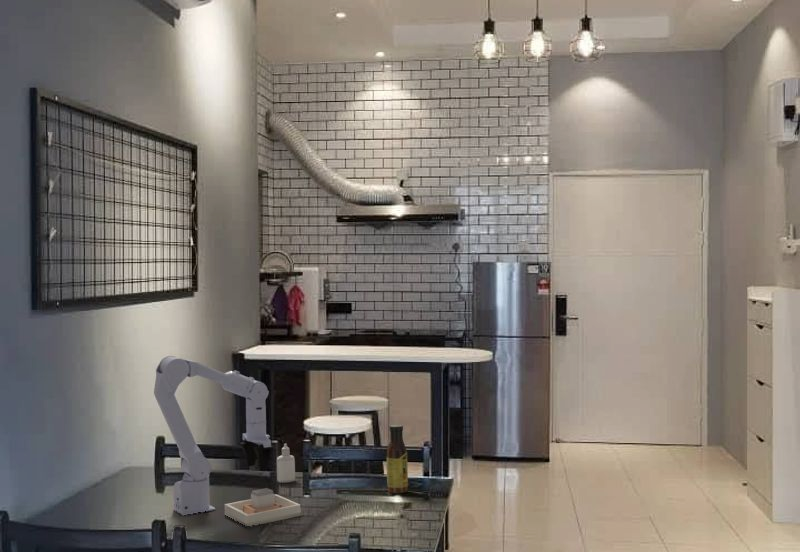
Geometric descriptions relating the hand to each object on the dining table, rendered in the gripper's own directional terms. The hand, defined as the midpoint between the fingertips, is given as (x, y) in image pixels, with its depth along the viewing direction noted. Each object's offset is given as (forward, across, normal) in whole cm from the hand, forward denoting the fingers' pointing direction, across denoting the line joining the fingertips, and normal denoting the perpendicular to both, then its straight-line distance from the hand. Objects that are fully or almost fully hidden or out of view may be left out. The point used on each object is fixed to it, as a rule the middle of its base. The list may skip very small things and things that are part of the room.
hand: (257, 468), depth 245 cm
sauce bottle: (+10, -19, -37) cm, 43 cm away
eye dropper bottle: (+10, +14, -17) cm, 24 cm away
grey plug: (+9, -15, +6) cm, 18 cm away
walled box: (+9, -15, +6) cm, 19 cm away
